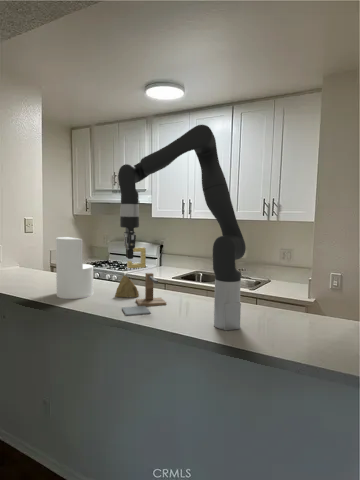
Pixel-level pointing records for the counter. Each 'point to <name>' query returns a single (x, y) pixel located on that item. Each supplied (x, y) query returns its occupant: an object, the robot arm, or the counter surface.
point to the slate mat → (135, 310)
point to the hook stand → (150, 293)
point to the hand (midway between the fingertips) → (129, 258)
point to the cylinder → (72, 270)
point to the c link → (143, 259)
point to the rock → (126, 288)
